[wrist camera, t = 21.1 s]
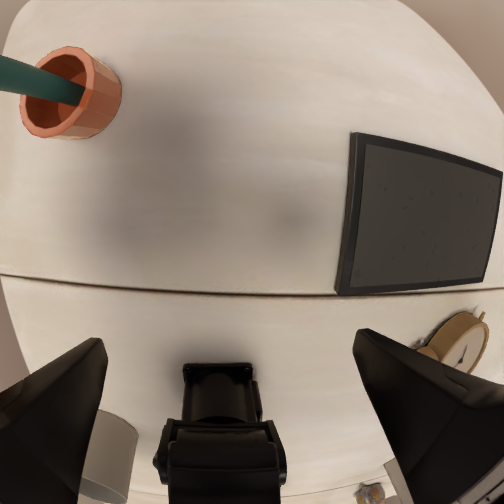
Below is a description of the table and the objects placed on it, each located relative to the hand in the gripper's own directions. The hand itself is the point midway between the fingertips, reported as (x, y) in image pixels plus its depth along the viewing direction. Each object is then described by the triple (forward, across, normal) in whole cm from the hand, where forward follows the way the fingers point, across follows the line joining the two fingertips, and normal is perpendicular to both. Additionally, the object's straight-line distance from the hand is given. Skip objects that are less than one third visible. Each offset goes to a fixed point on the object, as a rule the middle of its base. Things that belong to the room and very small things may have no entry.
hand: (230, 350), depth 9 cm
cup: (+13, +16, +24) cm, 32 cm away
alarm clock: (+13, -26, +16) cm, 33 cm away
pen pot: (+13, +10, -11) cm, 20 cm away
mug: (+14, -29, +58) cm, 67 cm away
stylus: (+12, +10, -12) cm, 20 cm away
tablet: (+13, -19, -2) cm, 23 cm away
